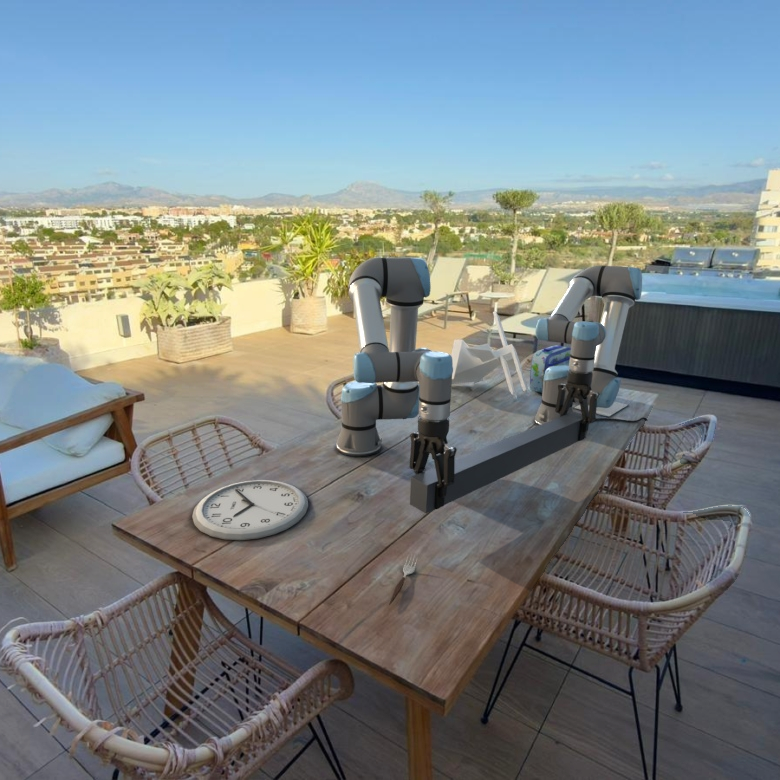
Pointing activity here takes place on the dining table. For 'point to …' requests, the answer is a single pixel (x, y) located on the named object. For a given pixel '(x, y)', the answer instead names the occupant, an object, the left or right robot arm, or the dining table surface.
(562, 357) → the lunch box
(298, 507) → the wall clock
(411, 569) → the fork
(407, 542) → the dining table surface
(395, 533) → the dining table surface
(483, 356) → the white plastic object
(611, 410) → the invitation card
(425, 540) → the dining table surface
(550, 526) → the dining table surface
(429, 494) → the bar
